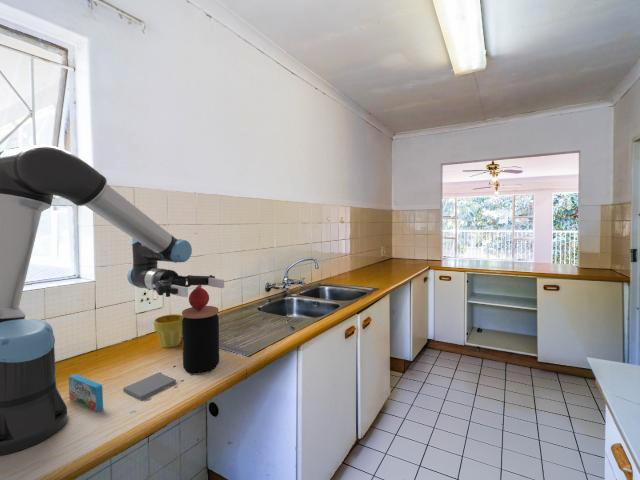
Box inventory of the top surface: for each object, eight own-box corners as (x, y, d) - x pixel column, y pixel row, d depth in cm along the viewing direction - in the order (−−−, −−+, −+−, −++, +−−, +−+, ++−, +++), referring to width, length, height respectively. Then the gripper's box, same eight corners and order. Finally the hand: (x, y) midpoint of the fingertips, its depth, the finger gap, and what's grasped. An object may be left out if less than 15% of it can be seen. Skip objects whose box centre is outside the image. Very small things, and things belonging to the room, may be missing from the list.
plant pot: (158, 352, 111) (157, 324, 110) (151, 343, 119) (151, 317, 118) (189, 345, 117) (188, 319, 116) (181, 337, 125) (180, 312, 124)
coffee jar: (199, 357, 107) (198, 304, 106) (226, 362, 104) (225, 307, 103) (175, 371, 97) (173, 313, 96) (204, 377, 94) (203, 317, 93)
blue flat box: (103, 409, 78) (102, 384, 78) (96, 412, 77) (95, 387, 76) (76, 396, 84) (75, 373, 83) (69, 399, 82) (68, 376, 82)
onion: (202, 313, 96) (202, 287, 95) (185, 312, 97) (184, 286, 96) (212, 308, 101) (212, 283, 101) (196, 307, 102) (195, 282, 102)
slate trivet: (140, 400, 82) (140, 396, 82) (123, 391, 86) (123, 387, 86) (175, 383, 91) (175, 379, 91) (158, 375, 95) (158, 372, 95)
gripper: (194, 284, 118) (236, 292, 108) (124, 299, 97) (168, 310, 86) (194, 264, 118) (236, 269, 107) (124, 274, 96) (168, 282, 86)
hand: (206, 287), depth 97 cm, fingers open, 13 cm apart
